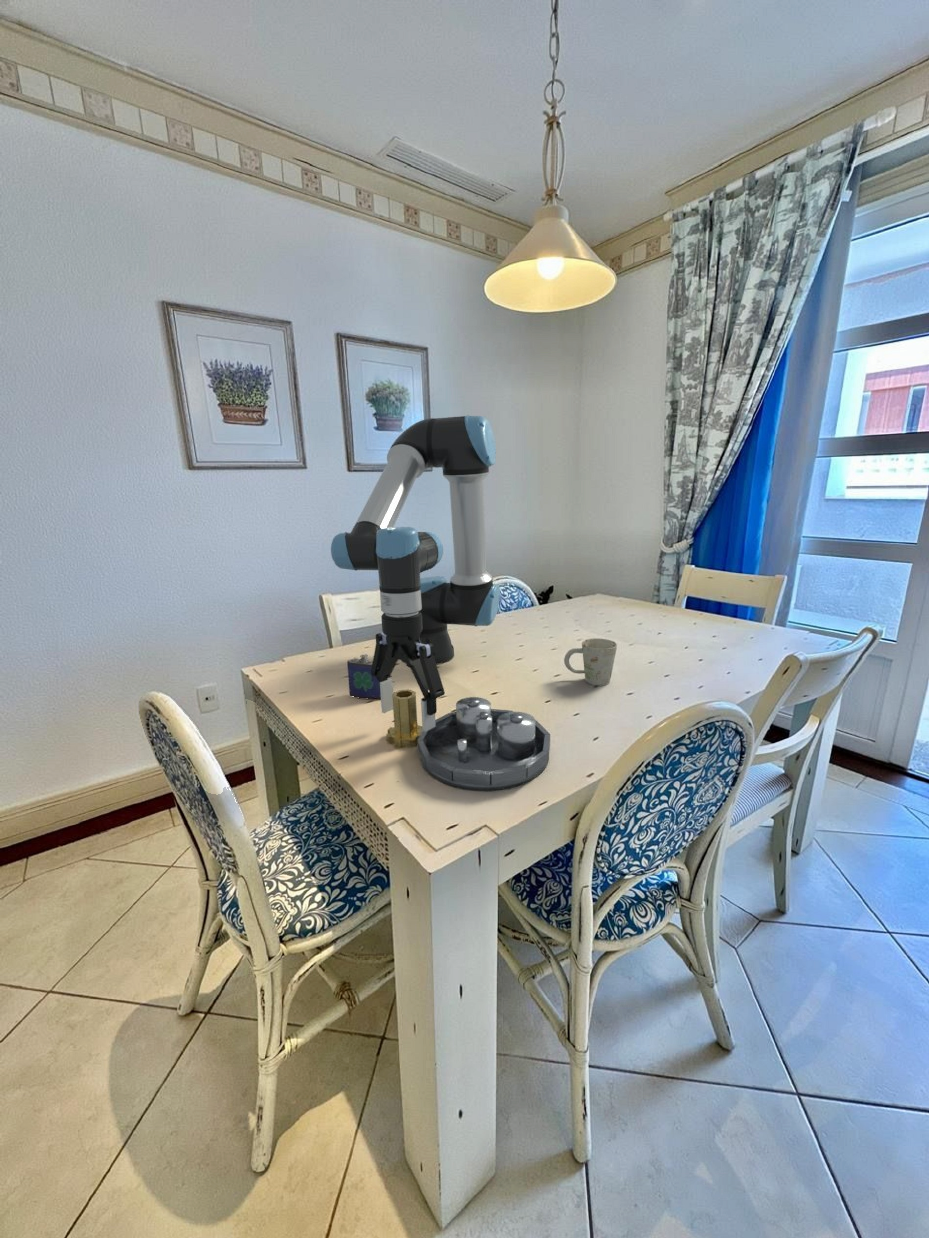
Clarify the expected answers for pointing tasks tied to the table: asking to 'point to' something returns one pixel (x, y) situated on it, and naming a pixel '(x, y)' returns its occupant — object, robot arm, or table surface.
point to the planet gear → (404, 720)
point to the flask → (362, 679)
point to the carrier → (484, 747)
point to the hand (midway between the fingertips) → (407, 719)
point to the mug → (595, 660)
